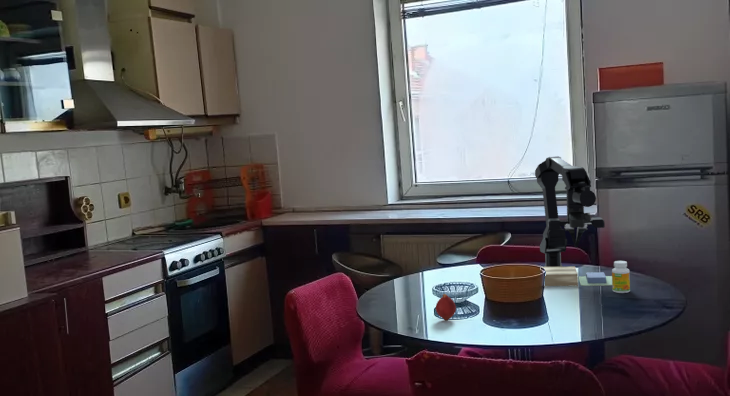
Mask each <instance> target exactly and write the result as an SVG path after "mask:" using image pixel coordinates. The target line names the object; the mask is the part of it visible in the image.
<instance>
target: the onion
mask: <svg viewBox="0 0 730 396" xmlns="http://www.w3.org/2000/svg"><path fill="white" fill-rule="evenodd" d="M435 311H436V314H437V315H438V316H439V317H440V318H442V319H443V320H444V321H448V320H450V319H451V318H452V317H453V316H454V315H455V314H456V311H457V306H456V303H455V302H454V300H453V299H452V297H450V296H449V295H447V294H446V293H443V294H442V297H440V299H438V301H437V302H436V305H435Z"/></svg>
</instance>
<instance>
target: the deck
mask: <svg viewBox="0 0 730 396" xmlns="http://www.w3.org/2000/svg"><path fill="white" fill-rule="evenodd" d="M541 267H542V268H544V269H545V271H546V276H545V286H544V287H578V283H579V282H578V281H579V278H578V272H577V268H576V266H562V267H545V266H541Z"/></svg>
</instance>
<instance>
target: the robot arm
mask: <svg viewBox="0 0 730 396" xmlns="http://www.w3.org/2000/svg"><path fill="white" fill-rule="evenodd" d="M534 176H535V178H536V182H537V184H538V185H539V187H540V188H541V190H542V198H543V205H544V207H543V209H544V216H545V224H546V225H545V226H546V227H545V228H544V230H543V233H542V240H541V242H540V245H539V252H541V253H543V254H545V255H544V256H545V264H544V267H563V264H562V255H561V254H562V253H566V251H567V246H568V245H567V244H568V239H567V237H566V232H567V231H568V232H569V235H570V236H571V239H572V242H573V244H574V247H575V248H578V247H579V243H580V241H581V238H582V236H583V233H584V232H585V231H587V230H588V228H587V227H588V226H593V227H594V228H595V229H600V228H602V229H603V228H605V227H606V226H605V220H604V218H602V217H591V213H590V212H585V208H589V207H592V206H594V204H596V201H597V196H596V193H595V192H594V191H592V190H591V188H592V185H591V183H592V181H591V179H590V176H589V175H588V172H587V171H586V169H585V168H584V167H583V166H576V165H572V164H570V163H568V162H567V161H565V160H564V159H562V157H561V156H558V155H557V156H549V157H546V159H545V160H544V161H542V162H541V163H539V164H538V165H537V166H536V168H535V170H534ZM559 176H561V177H562V178H561V180H562V181H563V182H564V185H565V187H564V190H566V220H560V218H559V211H558V202H557V192H556V186H557V184H558V182H559V181H560V178H559ZM562 227H564V228H562ZM575 228H577V229H576V233H575Z"/></svg>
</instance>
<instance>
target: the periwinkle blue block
mask: <svg viewBox="0 0 730 396" xmlns="http://www.w3.org/2000/svg"><path fill="white" fill-rule="evenodd" d="M585 276H586V279H587V282H588V283H606V276H607V275H606V274H605V272H602V271H601V272H595V271H593V272H592V271H591V272H585Z"/></svg>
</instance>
